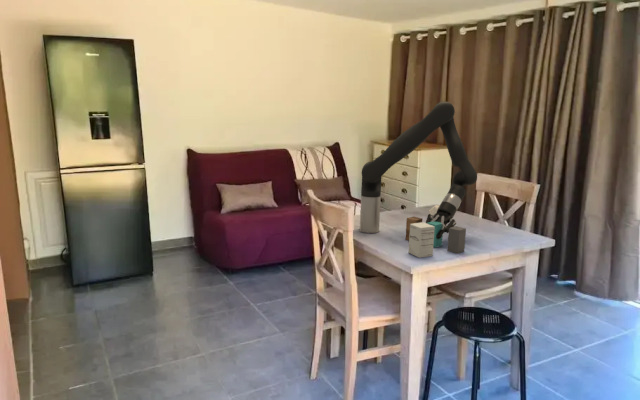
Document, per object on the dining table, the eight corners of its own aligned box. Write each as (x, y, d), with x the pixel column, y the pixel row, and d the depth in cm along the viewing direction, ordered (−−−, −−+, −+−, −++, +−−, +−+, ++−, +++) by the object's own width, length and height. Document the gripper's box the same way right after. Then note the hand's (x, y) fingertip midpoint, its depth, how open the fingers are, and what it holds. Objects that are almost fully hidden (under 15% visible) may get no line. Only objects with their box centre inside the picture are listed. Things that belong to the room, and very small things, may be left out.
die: (449, 222, 260) (445, 205, 264) (445, 217, 253) (441, 200, 257) (434, 225, 263) (430, 209, 267) (429, 221, 256) (426, 204, 260)
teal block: (435, 247, 213) (436, 225, 211) (425, 244, 217) (426, 222, 215) (441, 245, 216) (443, 223, 214) (432, 242, 220) (433, 221, 218)
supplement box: (407, 252, 205) (409, 223, 202) (422, 250, 208) (424, 221, 206) (418, 258, 199) (420, 227, 196) (433, 256, 202) (435, 226, 199)
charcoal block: (457, 253, 205) (459, 230, 203) (447, 250, 209) (448, 228, 207) (464, 251, 208) (466, 228, 206) (453, 248, 212) (455, 226, 210)
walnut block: (414, 241, 221) (415, 220, 219) (405, 239, 225) (406, 218, 222) (421, 239, 224) (422, 218, 222) (412, 237, 228) (413, 216, 226)
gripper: (432, 198, 223) (414, 228, 217) (460, 203, 212) (442, 235, 207) (438, 208, 227) (421, 238, 222) (466, 213, 217) (449, 245, 211)
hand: (431, 236), depth 214 cm, fingers closed on teal block, 5 cm apart
